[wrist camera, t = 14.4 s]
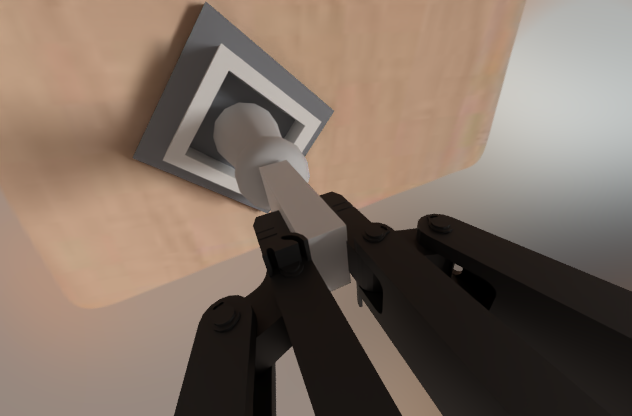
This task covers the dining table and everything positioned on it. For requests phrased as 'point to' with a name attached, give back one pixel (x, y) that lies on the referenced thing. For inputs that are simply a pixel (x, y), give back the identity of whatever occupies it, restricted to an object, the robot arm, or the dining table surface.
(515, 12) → the dining table surface
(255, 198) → the grey bulb peg
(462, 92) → the dining table surface
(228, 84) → the socket
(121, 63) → the dining table surface
